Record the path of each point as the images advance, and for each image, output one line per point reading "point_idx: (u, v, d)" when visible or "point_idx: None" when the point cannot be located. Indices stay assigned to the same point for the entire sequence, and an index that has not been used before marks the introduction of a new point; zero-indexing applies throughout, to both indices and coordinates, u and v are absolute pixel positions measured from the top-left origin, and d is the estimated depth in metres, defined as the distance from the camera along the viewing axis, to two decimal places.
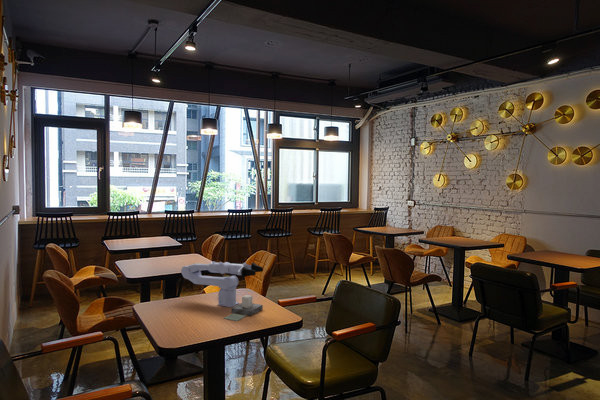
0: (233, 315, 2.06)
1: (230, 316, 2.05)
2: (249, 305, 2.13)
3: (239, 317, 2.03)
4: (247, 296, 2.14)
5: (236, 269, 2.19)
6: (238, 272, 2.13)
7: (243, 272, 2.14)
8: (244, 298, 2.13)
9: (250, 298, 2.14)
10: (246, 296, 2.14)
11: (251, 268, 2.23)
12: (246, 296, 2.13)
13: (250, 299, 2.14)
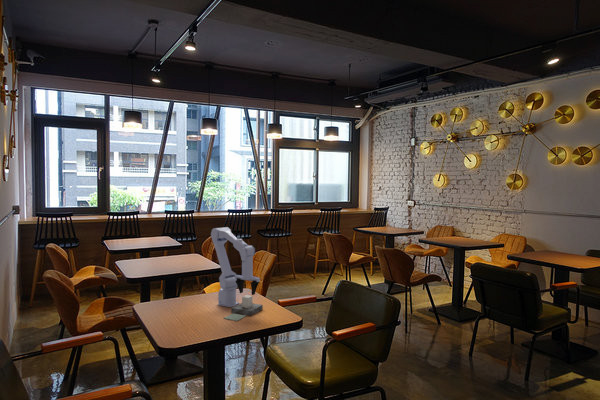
0: (233, 315, 2.06)
1: (230, 316, 2.05)
2: (249, 305, 2.13)
3: (239, 317, 2.03)
4: (247, 296, 2.14)
5: None
6: None
7: None
8: (244, 298, 2.13)
9: (250, 298, 2.14)
10: (246, 296, 2.14)
11: None
12: (246, 296, 2.13)
13: (250, 299, 2.14)
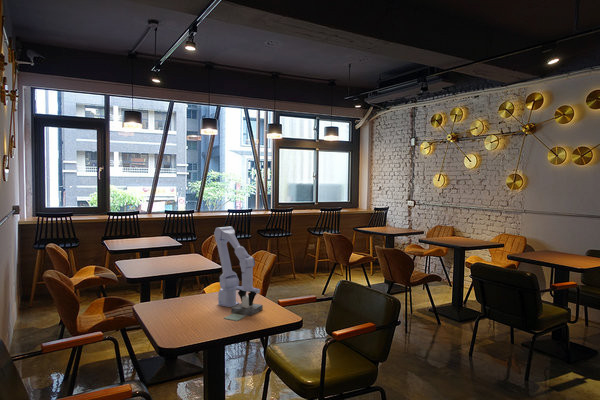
0: (233, 315, 2.06)
1: (230, 316, 2.05)
2: None
3: (239, 317, 2.03)
4: (247, 296, 2.14)
5: None
6: None
7: None
8: (244, 298, 2.13)
9: None
10: (246, 296, 2.14)
11: None
12: (246, 296, 2.13)
13: None
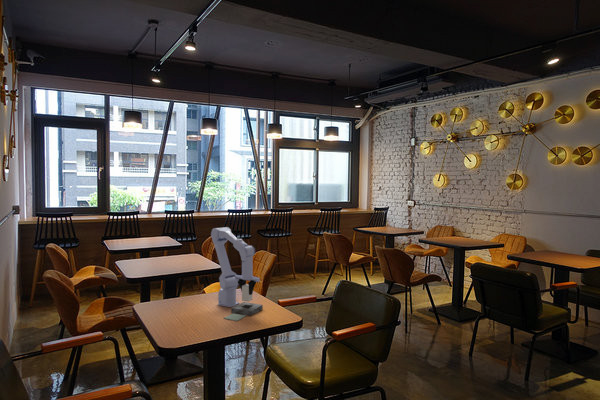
0: (233, 315, 2.06)
1: (230, 316, 2.05)
2: None
3: (239, 317, 2.03)
4: (247, 285, 2.14)
5: None
6: None
7: None
8: (244, 287, 2.12)
9: None
10: (246, 285, 2.14)
11: None
12: (246, 285, 2.13)
13: None
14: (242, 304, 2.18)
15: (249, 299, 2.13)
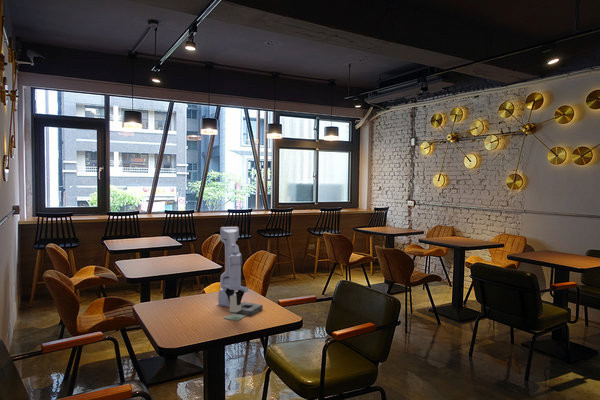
0: (233, 315, 2.06)
1: (230, 316, 2.05)
2: None
3: (239, 317, 2.03)
4: (235, 295, 2.04)
5: None
6: None
7: None
8: (232, 297, 2.02)
9: None
10: (234, 295, 2.04)
11: None
12: (234, 295, 2.03)
13: None
14: (242, 304, 2.18)
15: (237, 310, 2.03)
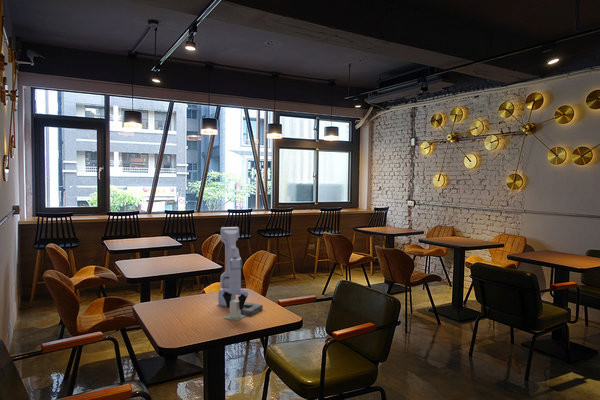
0: None
1: None
2: (237, 310, 2.03)
3: (239, 317, 2.03)
4: (235, 301, 2.04)
5: None
6: None
7: None
8: (232, 303, 2.03)
9: (238, 303, 2.03)
10: (234, 301, 2.04)
11: None
12: (234, 301, 2.03)
13: (238, 304, 2.03)
14: None
15: (237, 316, 2.03)
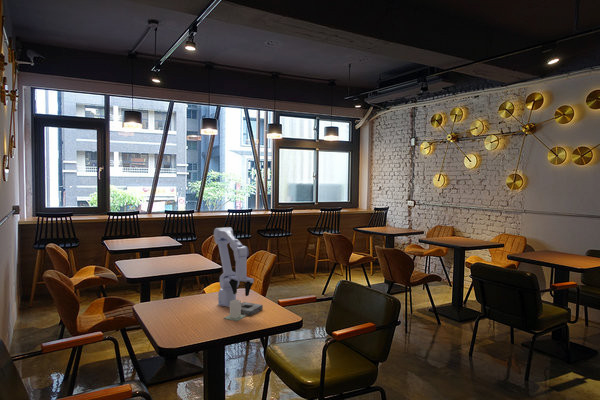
0: None
1: None
2: (237, 310, 2.03)
3: (239, 317, 2.03)
4: (235, 301, 2.04)
5: None
6: None
7: None
8: (232, 303, 2.03)
9: (238, 303, 2.03)
10: (234, 301, 2.04)
11: None
12: (234, 301, 2.03)
13: (238, 304, 2.03)
14: (242, 304, 2.18)
15: (237, 316, 2.03)
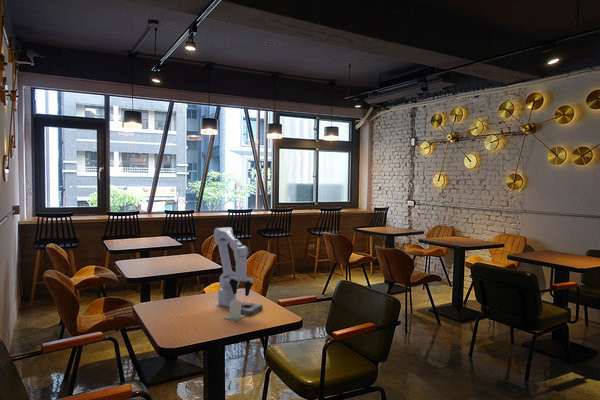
0: None
1: None
2: (237, 310, 2.03)
3: (239, 317, 2.03)
4: (235, 301, 2.04)
5: None
6: None
7: None
8: (232, 303, 2.03)
9: (238, 303, 2.03)
10: (234, 301, 2.04)
11: None
12: (234, 301, 2.03)
13: (238, 304, 2.03)
14: (242, 304, 2.18)
15: (237, 316, 2.03)
